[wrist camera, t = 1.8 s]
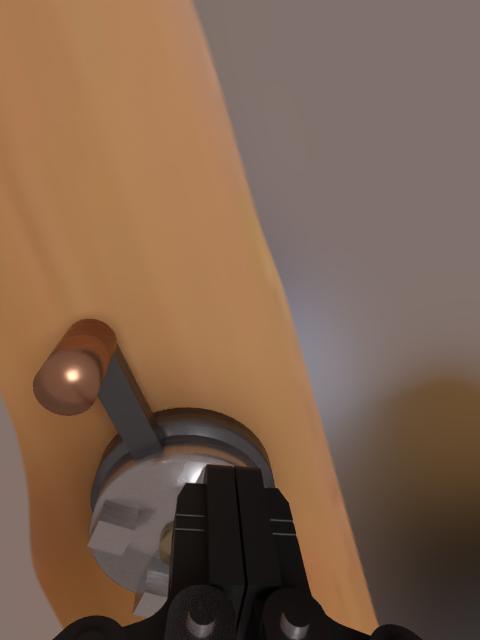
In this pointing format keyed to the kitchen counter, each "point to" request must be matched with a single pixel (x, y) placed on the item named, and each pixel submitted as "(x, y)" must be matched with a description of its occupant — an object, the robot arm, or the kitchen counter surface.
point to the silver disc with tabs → (192, 424)
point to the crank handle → (129, 461)
